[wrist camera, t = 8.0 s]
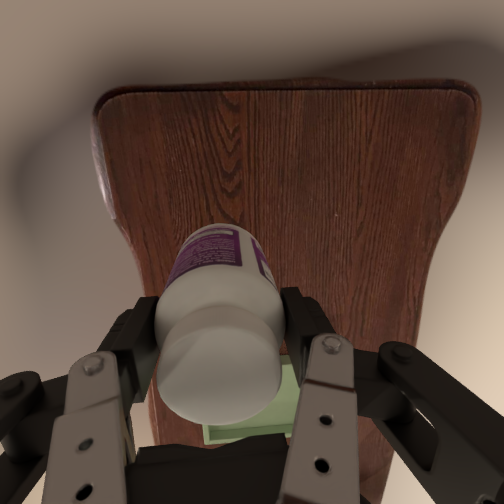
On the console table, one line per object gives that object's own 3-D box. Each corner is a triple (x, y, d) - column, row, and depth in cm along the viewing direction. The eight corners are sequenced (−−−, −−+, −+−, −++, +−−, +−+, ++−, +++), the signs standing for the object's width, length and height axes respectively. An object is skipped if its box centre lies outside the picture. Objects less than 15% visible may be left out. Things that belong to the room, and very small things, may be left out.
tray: (205, 432, 43) (204, 445, 42) (197, 361, 39) (196, 371, 37) (306, 423, 44) (309, 435, 43) (310, 352, 40) (314, 362, 38)
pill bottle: (167, 285, 18) (108, 423, 9) (195, 208, 17) (159, 281, 8) (245, 310, 19) (263, 455, 10) (279, 240, 18) (334, 338, 9)
